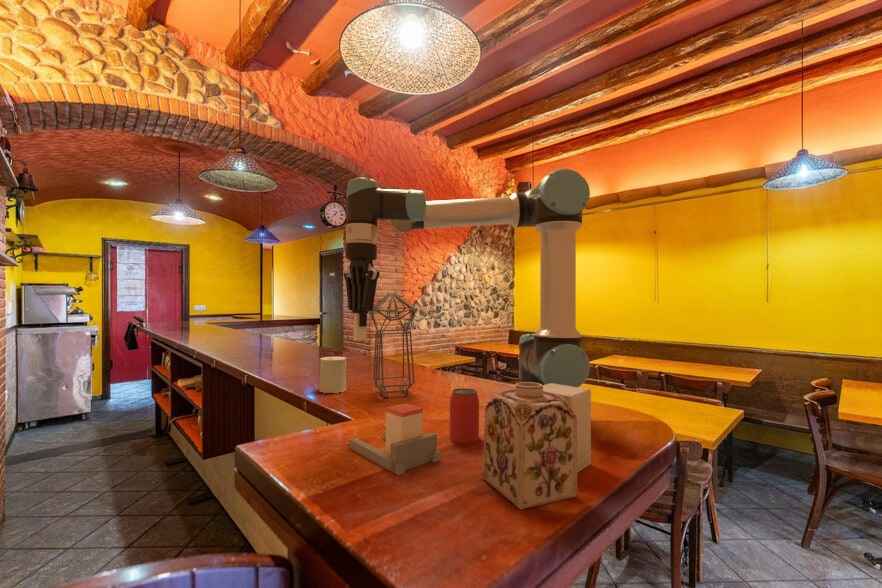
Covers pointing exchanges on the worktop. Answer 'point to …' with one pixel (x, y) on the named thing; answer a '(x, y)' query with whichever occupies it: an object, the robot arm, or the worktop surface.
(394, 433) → the block
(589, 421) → the supplement box
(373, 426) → the worktop surface
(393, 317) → the geometric lantern
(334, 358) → the can
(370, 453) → the grey tray
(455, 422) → the beer can
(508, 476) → the decorative jar
